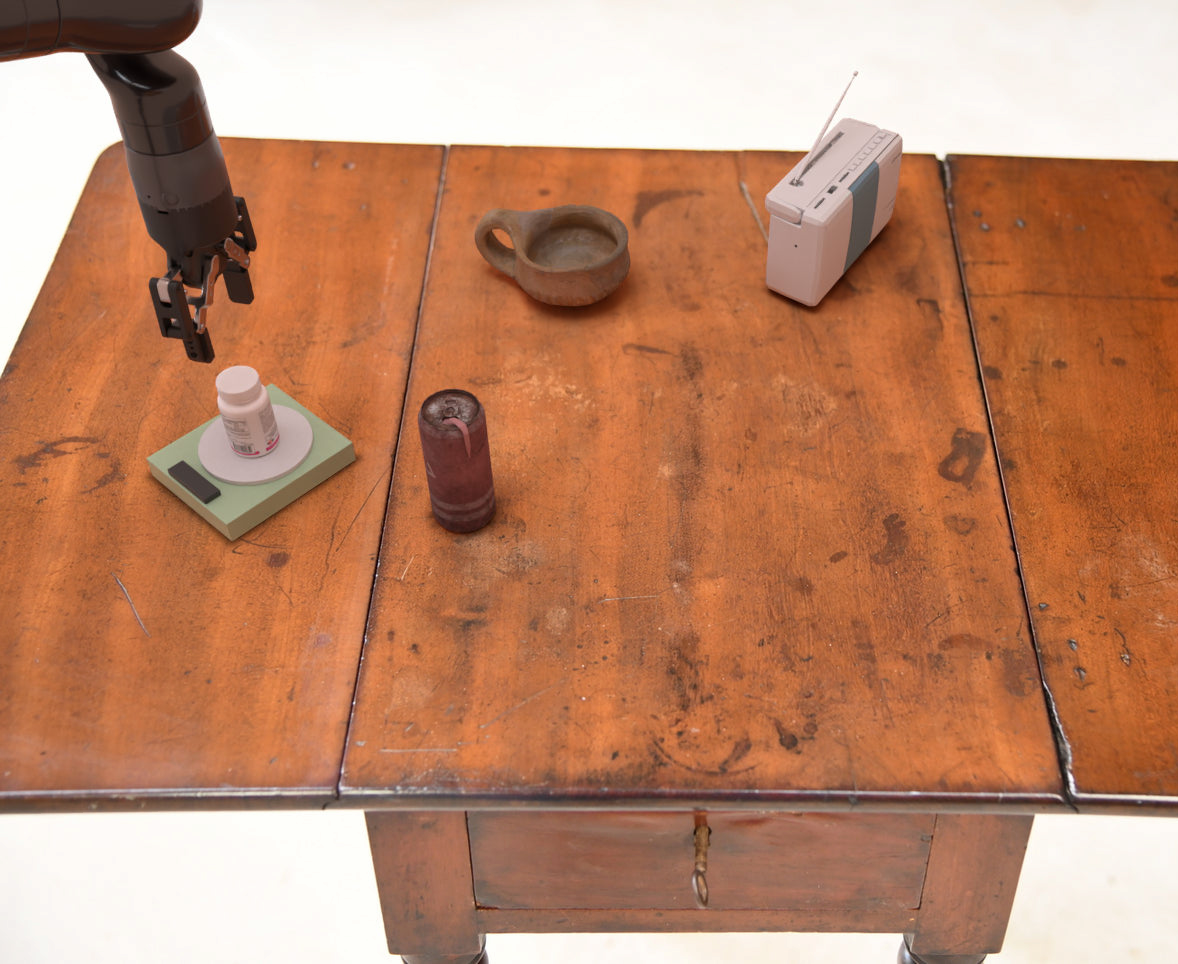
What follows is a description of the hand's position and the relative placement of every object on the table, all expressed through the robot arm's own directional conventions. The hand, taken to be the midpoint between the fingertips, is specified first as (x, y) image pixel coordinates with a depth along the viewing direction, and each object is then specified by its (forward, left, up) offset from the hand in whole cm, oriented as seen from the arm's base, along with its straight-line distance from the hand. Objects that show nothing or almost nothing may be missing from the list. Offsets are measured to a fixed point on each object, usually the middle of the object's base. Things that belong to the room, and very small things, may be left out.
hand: (223, 330), depth 128 cm
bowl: (+40, -1, -18) cm, 44 cm away
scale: (-1, 0, -18) cm, 18 cm away
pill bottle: (0, 0, -15) cm, 15 cm away
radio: (+66, -21, -18) cm, 72 cm away
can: (+9, -20, -18) cm, 28 cm away
